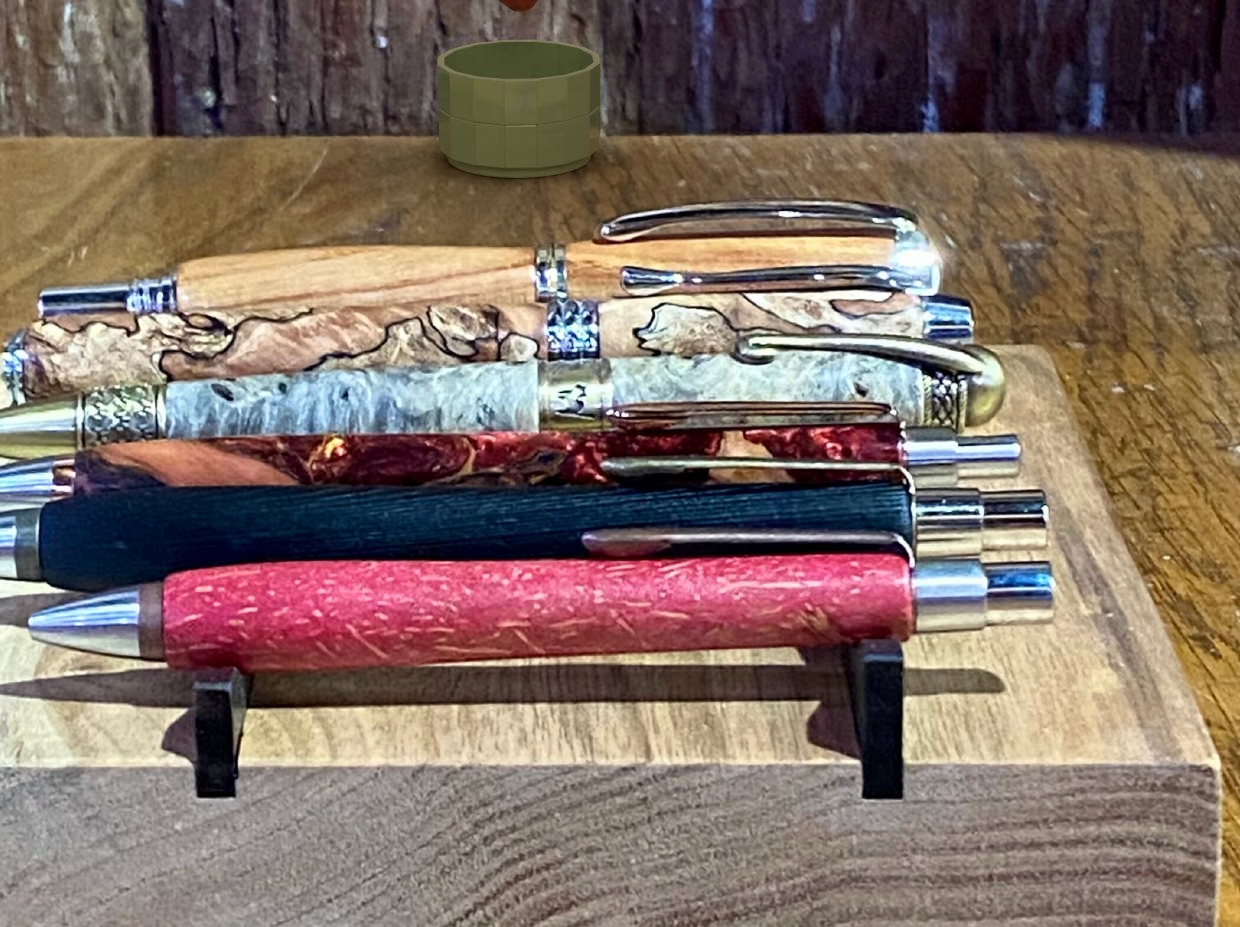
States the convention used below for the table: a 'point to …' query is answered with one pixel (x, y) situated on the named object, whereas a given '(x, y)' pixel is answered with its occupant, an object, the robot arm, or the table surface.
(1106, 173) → the table surface
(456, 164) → the bowl
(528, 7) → the onion
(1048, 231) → the table surface
